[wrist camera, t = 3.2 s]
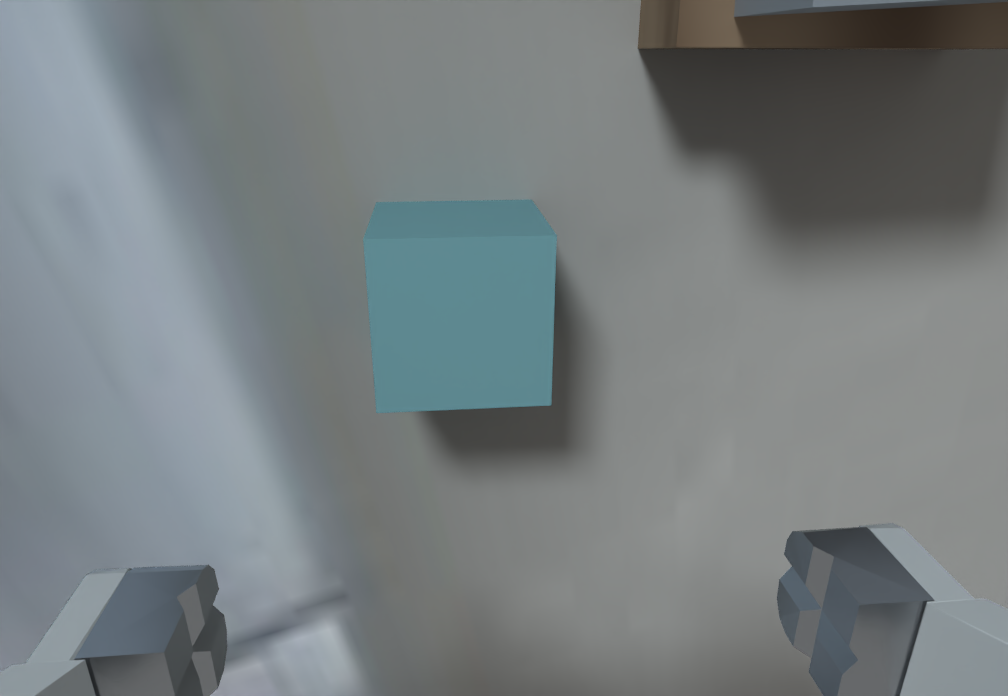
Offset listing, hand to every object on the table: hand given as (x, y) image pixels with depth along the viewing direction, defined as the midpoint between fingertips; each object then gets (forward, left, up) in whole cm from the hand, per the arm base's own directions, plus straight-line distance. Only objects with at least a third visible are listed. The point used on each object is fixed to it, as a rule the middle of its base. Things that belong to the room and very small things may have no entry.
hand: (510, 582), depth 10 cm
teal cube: (0, 0, -15) cm, 15 cm away
